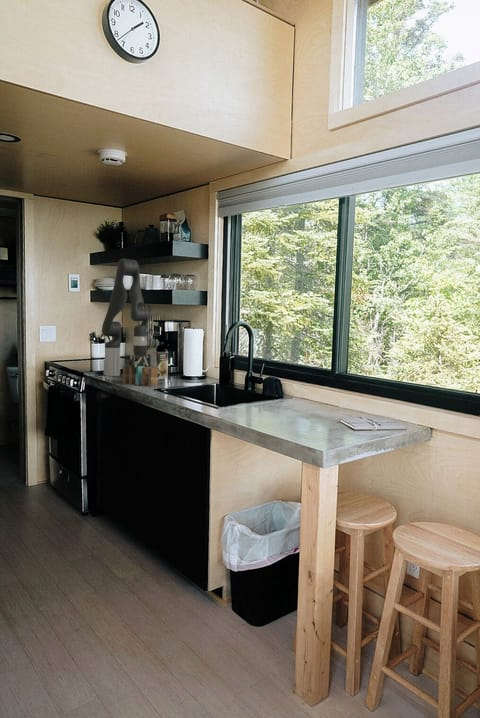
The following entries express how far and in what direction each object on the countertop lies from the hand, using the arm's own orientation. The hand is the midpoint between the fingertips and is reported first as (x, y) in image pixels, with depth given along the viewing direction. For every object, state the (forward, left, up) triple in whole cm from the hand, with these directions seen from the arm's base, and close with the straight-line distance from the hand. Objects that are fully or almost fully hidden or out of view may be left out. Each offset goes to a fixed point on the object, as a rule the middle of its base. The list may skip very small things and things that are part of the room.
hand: (140, 373), depth 294 cm
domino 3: (0, 0, -6) cm, 6 cm away
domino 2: (-5, 0, -6) cm, 8 cm away
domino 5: (+10, 0, -6) cm, 12 cm away
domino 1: (-10, 0, -6) cm, 12 cm away
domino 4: (+5, 0, -6) cm, 8 cm away
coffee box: (-10, +26, -6) cm, 29 cm away
